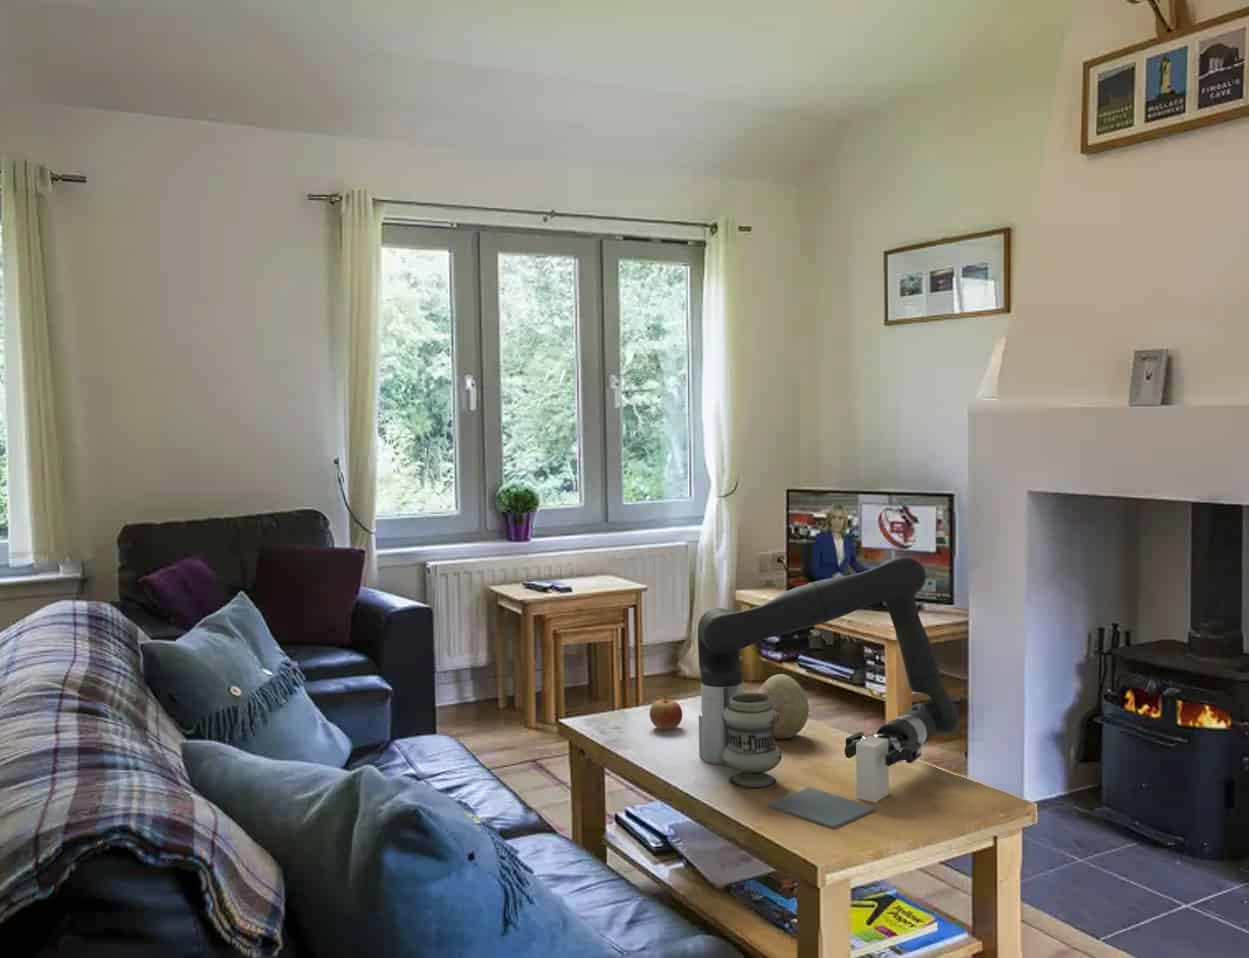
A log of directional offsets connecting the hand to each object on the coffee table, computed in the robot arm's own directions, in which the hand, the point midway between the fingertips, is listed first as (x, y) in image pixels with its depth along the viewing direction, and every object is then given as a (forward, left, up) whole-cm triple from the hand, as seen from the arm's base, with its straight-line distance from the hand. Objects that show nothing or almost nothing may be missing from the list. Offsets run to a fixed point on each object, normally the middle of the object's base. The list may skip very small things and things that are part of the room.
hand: (867, 756), depth 207 cm
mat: (-3, -10, -9) cm, 14 cm away
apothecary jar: (-22, -9, -9) cm, 26 cm away
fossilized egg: (-38, +19, -9) cm, 44 cm away
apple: (-63, +5, -9) cm, 64 cm away
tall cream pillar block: (0, +2, -9) cm, 9 cm away
